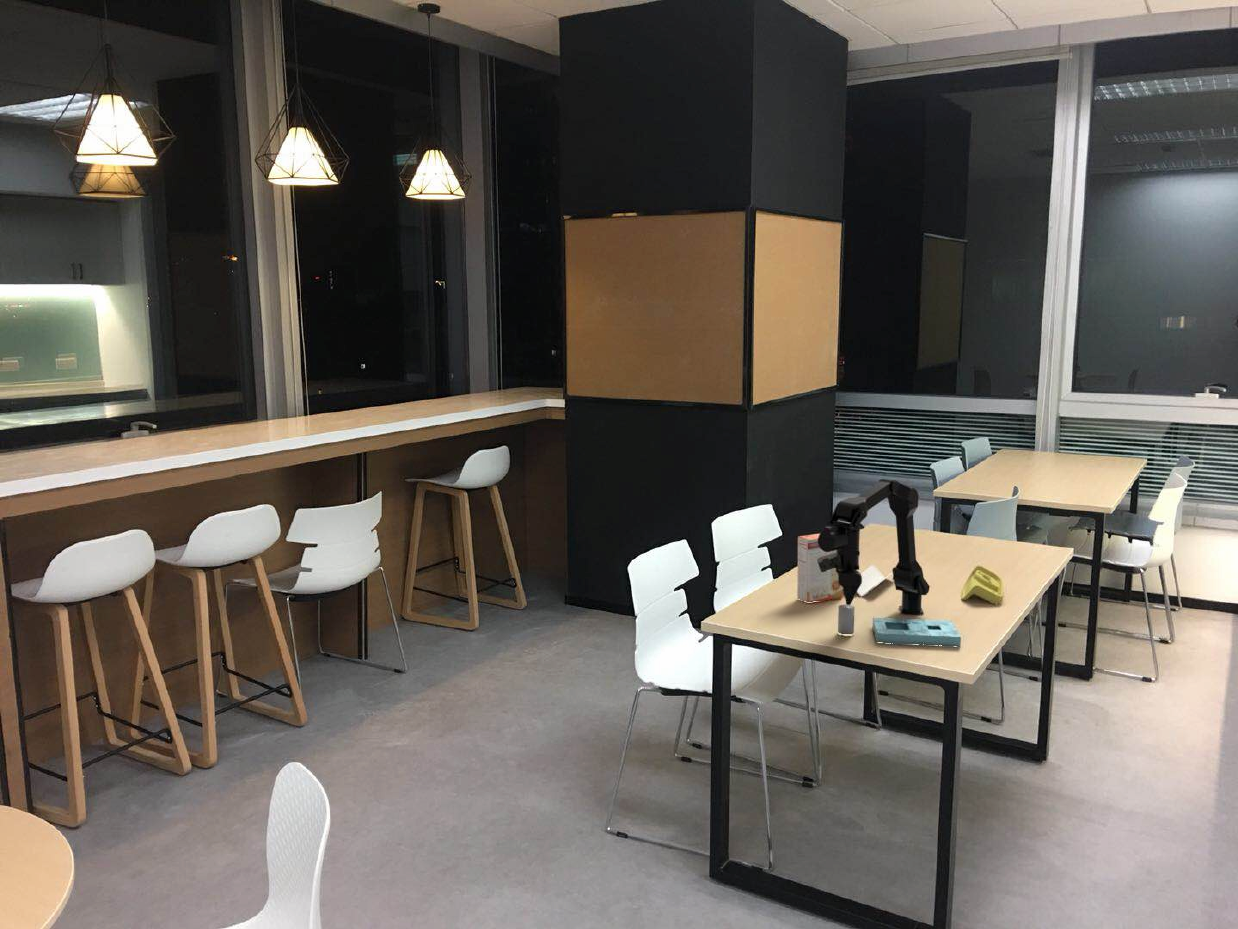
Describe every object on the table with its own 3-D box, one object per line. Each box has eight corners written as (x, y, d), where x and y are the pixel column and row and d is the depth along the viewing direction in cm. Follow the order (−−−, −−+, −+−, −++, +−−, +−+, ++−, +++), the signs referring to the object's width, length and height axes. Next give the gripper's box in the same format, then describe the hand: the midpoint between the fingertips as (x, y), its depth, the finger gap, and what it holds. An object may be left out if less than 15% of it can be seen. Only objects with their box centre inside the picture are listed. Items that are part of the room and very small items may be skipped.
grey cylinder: (837, 631, 278) (838, 604, 277) (853, 632, 278) (854, 605, 277) (838, 636, 274) (839, 609, 273) (854, 637, 274) (855, 609, 272)
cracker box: (831, 593, 315) (833, 530, 311) (843, 598, 309) (845, 534, 306) (795, 599, 309) (797, 535, 306) (807, 604, 303) (808, 539, 300)
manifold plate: (872, 627, 282) (872, 617, 281) (951, 630, 278) (952, 620, 278) (877, 643, 268) (877, 633, 267) (960, 647, 264) (960, 637, 264)
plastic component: (1002, 598, 301) (972, 582, 303) (990, 617, 303) (960, 601, 306) (1003, 577, 319) (974, 562, 321) (991, 595, 321) (963, 580, 323)
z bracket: (848, 608, 314) (835, 593, 315) (872, 589, 335) (860, 575, 336) (875, 586, 308) (862, 571, 310) (898, 568, 329) (885, 554, 330)
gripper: (818, 537, 282) (816, 589, 285) (820, 553, 264) (819, 608, 267) (857, 538, 281) (855, 590, 283) (862, 554, 262) (861, 610, 265)
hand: (847, 599), depth 274 cm, fingers open, 9 cm apart
